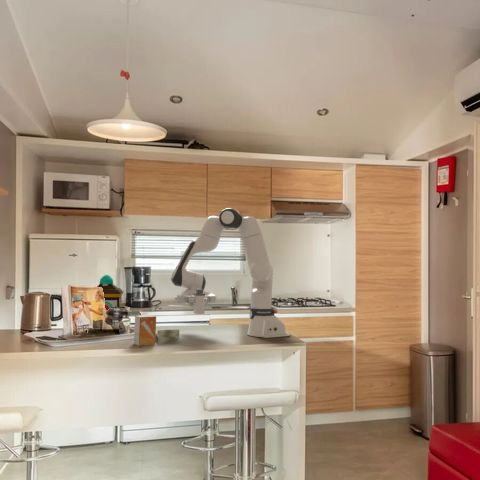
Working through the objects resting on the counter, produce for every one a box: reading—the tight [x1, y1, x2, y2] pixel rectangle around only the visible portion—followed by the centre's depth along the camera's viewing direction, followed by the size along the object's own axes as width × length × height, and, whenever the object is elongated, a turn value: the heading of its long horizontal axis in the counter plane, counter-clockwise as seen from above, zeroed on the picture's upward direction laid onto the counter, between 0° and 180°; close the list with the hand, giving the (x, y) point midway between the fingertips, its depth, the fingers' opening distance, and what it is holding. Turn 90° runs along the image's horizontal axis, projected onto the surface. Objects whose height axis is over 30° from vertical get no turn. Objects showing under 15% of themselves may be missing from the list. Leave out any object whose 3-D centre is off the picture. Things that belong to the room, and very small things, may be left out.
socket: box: [155, 328, 180, 344], centre depth 214 cm, size 10×10×6 cm
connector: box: [193, 289, 206, 315], centre depth 224 cm, size 5×5×12 cm
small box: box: [133, 314, 157, 347], centre depth 205 cm, size 8×6×13 cm
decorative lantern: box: [96, 274, 126, 310], centre depth 239 cm, size 20×20×30 cm
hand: (199, 300), depth 223 cm, fingers closed on connector, 4 cm apart
